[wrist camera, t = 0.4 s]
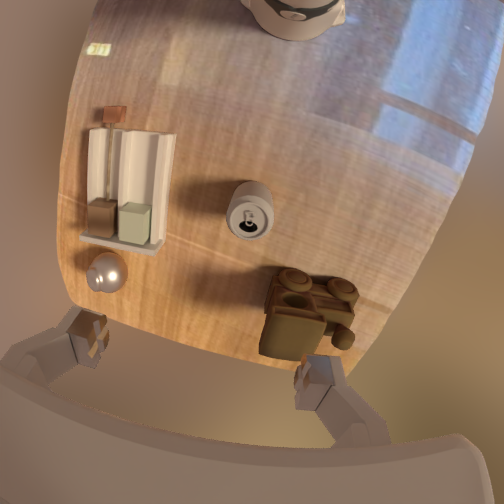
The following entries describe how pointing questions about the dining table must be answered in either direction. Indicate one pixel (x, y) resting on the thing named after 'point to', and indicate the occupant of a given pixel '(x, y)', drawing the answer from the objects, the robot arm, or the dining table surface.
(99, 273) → the grey round lump
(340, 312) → the wooden toy train
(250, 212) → the can
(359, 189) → the dining table surface
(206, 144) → the dining table surface
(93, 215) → the brown block pusher rod
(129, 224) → the sage block
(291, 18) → the robot arm
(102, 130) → the lane shelf
